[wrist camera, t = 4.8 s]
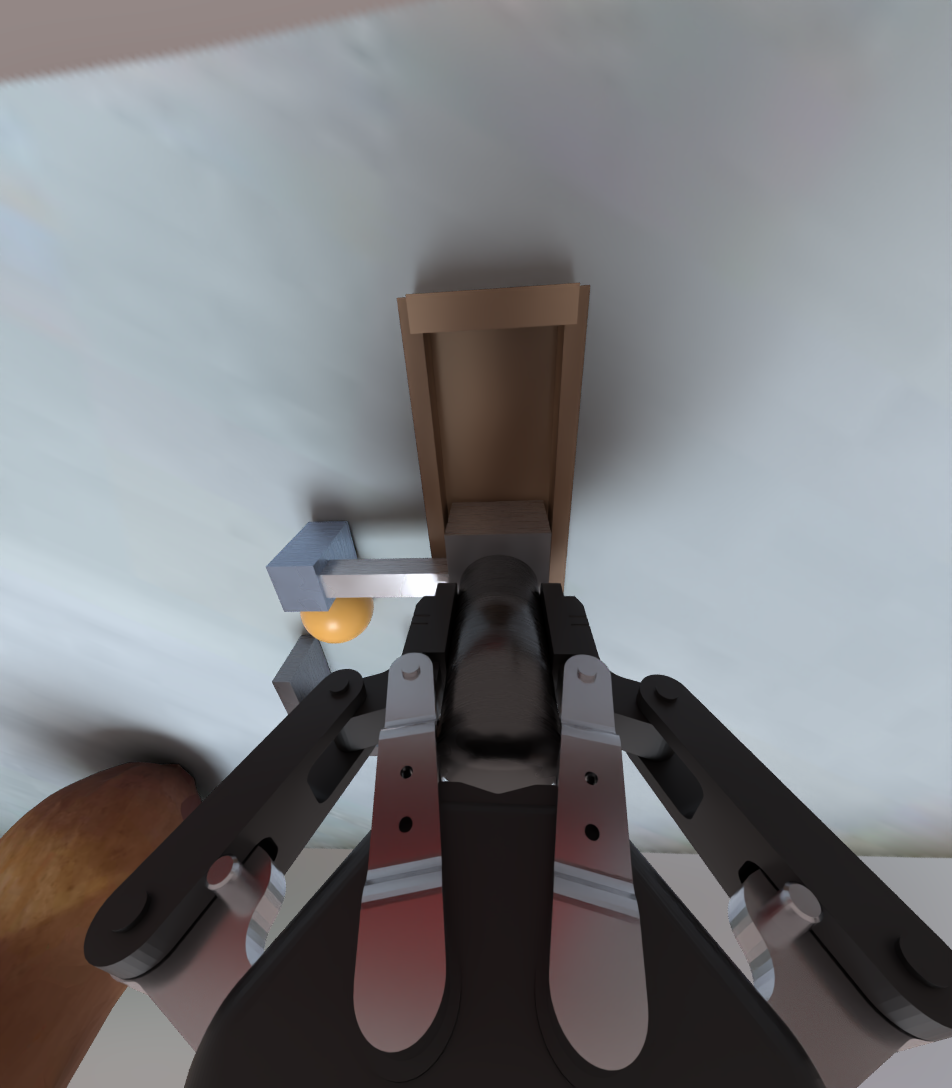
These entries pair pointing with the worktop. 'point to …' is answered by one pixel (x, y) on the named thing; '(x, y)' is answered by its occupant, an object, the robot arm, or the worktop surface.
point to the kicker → (461, 630)
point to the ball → (340, 620)
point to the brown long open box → (497, 399)
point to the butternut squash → (72, 910)
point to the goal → (302, 673)
